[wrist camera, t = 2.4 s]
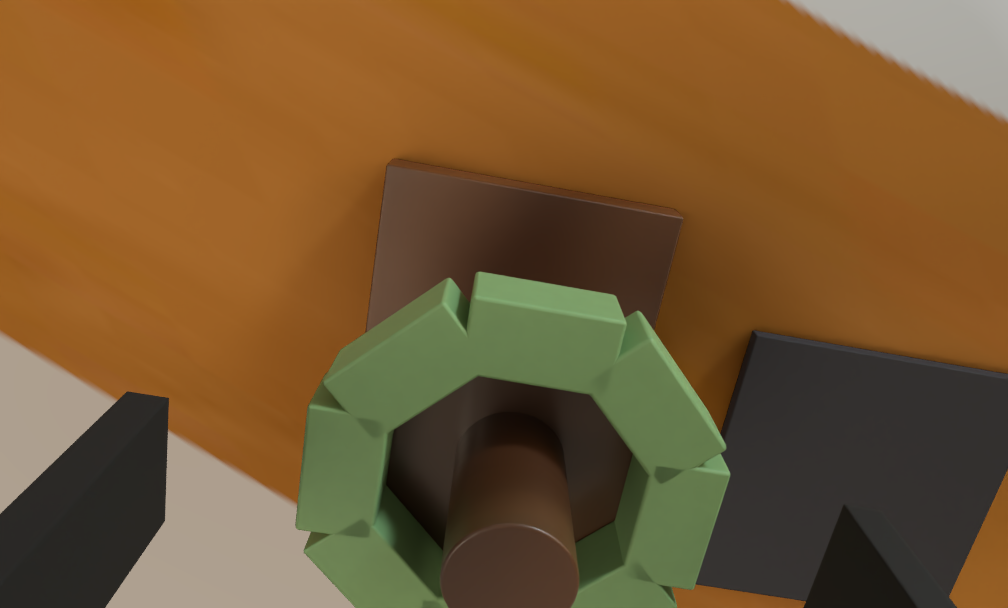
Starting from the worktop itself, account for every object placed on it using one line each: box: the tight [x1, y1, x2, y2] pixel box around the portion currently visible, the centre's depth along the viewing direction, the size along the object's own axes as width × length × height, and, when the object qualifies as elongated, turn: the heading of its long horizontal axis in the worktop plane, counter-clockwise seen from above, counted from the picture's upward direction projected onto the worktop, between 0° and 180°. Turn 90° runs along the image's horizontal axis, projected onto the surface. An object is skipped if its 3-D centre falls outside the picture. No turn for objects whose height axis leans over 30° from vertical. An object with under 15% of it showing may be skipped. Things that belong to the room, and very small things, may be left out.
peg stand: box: [365, 159, 683, 608], centre depth 19 cm, size 9×9×13 cm
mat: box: [696, 330, 1008, 601], centre depth 27 cm, size 10×10×1 cm
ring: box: [296, 272, 730, 608], centre depth 16 cm, size 8×8×2 cm
